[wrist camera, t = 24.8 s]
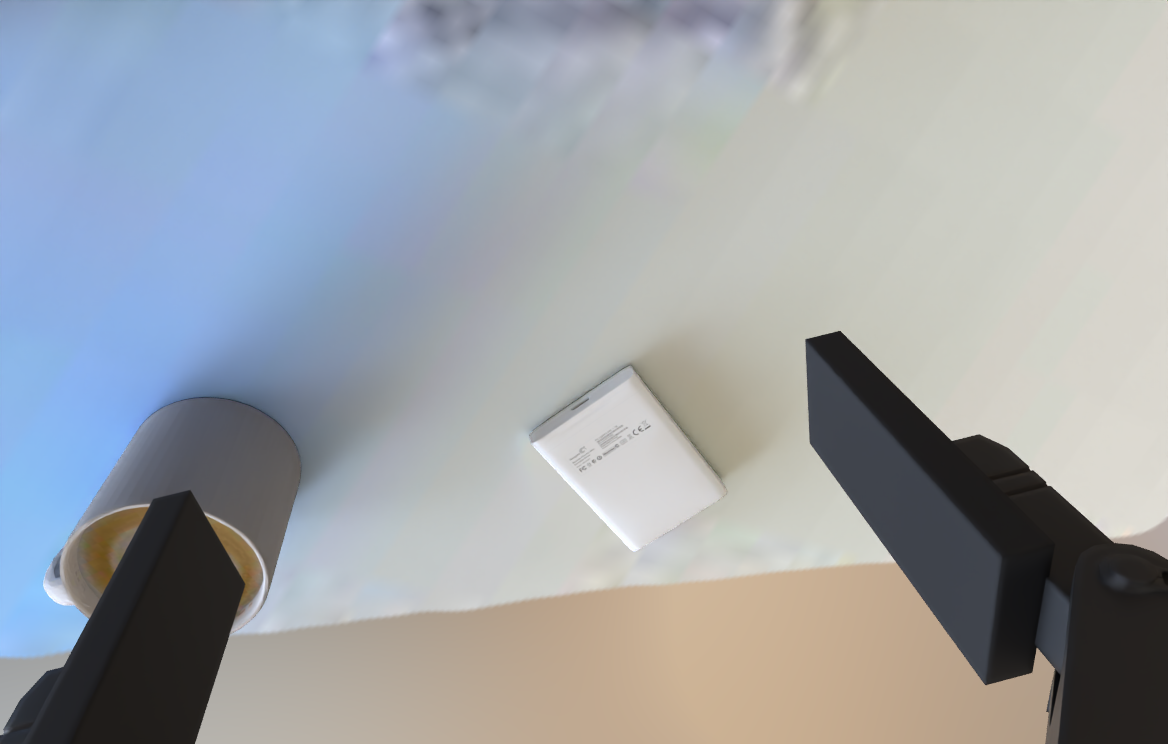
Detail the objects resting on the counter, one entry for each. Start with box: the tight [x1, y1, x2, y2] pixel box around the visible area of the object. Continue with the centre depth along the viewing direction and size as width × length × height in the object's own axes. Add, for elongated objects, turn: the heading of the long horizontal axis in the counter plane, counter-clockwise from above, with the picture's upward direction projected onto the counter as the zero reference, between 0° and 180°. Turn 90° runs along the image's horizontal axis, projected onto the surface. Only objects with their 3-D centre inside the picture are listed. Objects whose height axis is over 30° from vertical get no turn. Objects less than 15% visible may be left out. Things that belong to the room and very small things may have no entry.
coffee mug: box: [43, 398, 301, 634], centre depth 43 cm, size 13×10×10 cm
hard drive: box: [530, 366, 727, 551], centre depth 52 cm, size 2×8×12 cm
